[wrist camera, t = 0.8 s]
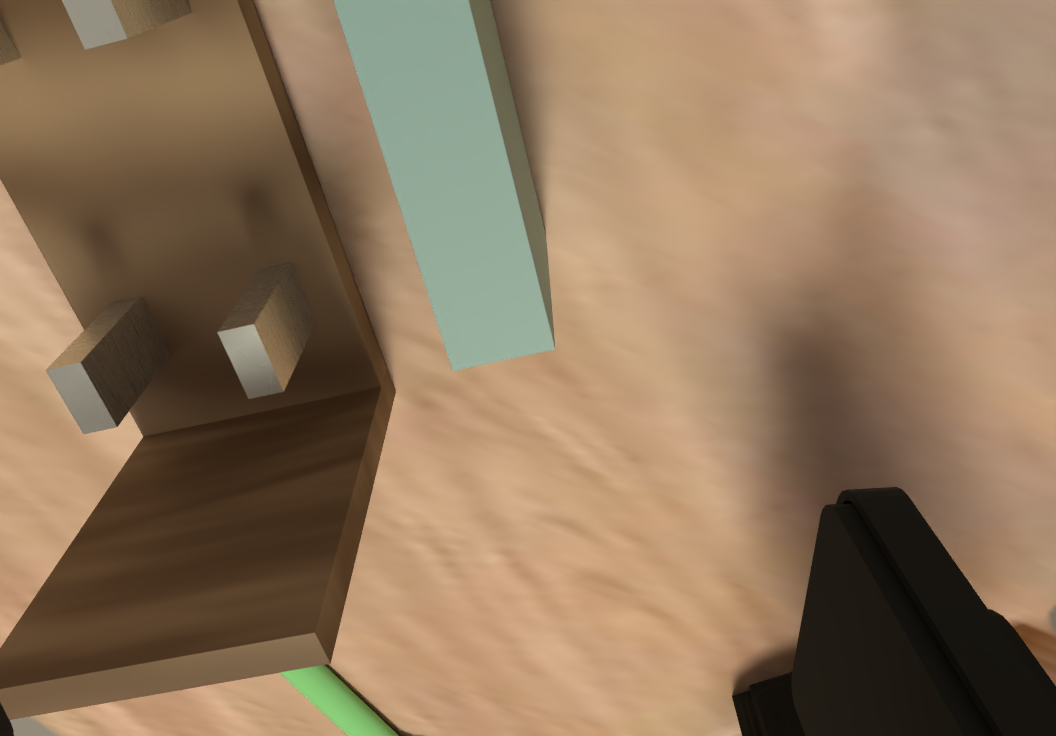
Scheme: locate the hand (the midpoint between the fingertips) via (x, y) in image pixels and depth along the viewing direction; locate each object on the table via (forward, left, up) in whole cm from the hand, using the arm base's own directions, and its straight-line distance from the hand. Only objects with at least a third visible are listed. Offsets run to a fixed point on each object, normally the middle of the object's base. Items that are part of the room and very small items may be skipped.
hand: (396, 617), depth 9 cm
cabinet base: (+11, -1, -23) cm, 26 cm away
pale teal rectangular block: (0, -2, -23) cm, 23 cm away
